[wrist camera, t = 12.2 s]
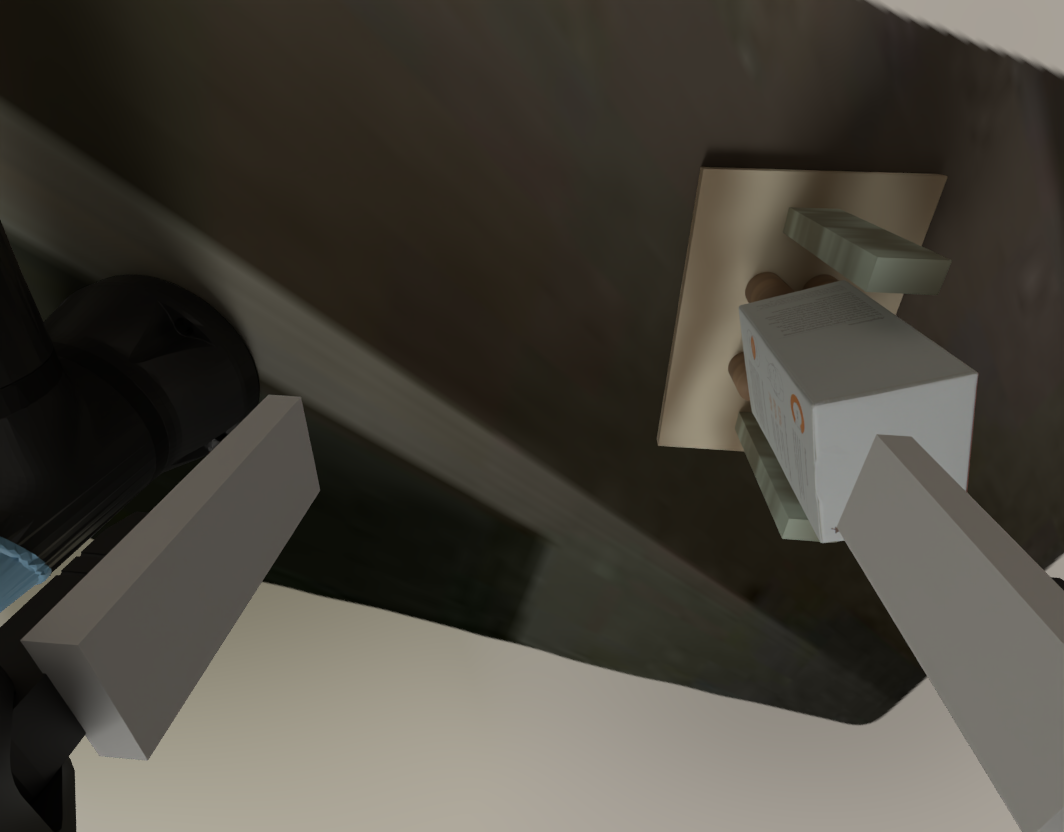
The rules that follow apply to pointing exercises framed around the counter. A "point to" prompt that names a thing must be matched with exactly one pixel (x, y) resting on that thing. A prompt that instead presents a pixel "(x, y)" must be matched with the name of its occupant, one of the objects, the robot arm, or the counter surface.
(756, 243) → the peg stand
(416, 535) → the counter surface
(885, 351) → the small box
